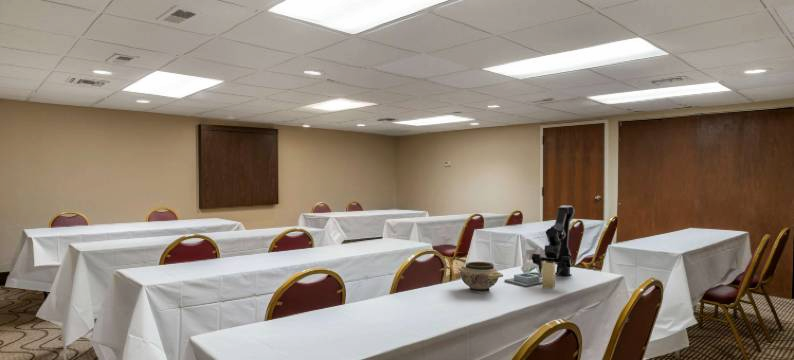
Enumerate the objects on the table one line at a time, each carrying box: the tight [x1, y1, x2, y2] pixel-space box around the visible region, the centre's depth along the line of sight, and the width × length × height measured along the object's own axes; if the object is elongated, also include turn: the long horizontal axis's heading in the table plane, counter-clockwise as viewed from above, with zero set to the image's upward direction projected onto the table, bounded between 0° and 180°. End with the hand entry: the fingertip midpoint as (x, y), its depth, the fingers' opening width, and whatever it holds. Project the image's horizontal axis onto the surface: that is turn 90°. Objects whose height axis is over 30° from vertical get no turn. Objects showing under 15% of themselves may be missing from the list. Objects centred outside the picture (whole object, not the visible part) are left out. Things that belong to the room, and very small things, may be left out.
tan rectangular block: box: [541, 261, 556, 289], centre depth 227 cm, size 5×5×12 cm
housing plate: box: [504, 272, 542, 288], centre depth 237 cm, size 18×14×4 cm
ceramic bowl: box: [457, 261, 504, 294], centre depth 219 cm, size 24×18×15 cm
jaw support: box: [520, 258, 542, 276], centre depth 257 cm, size 12×9×10 cm
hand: (548, 274), depth 226 cm, fingers open, 8 cm apart
